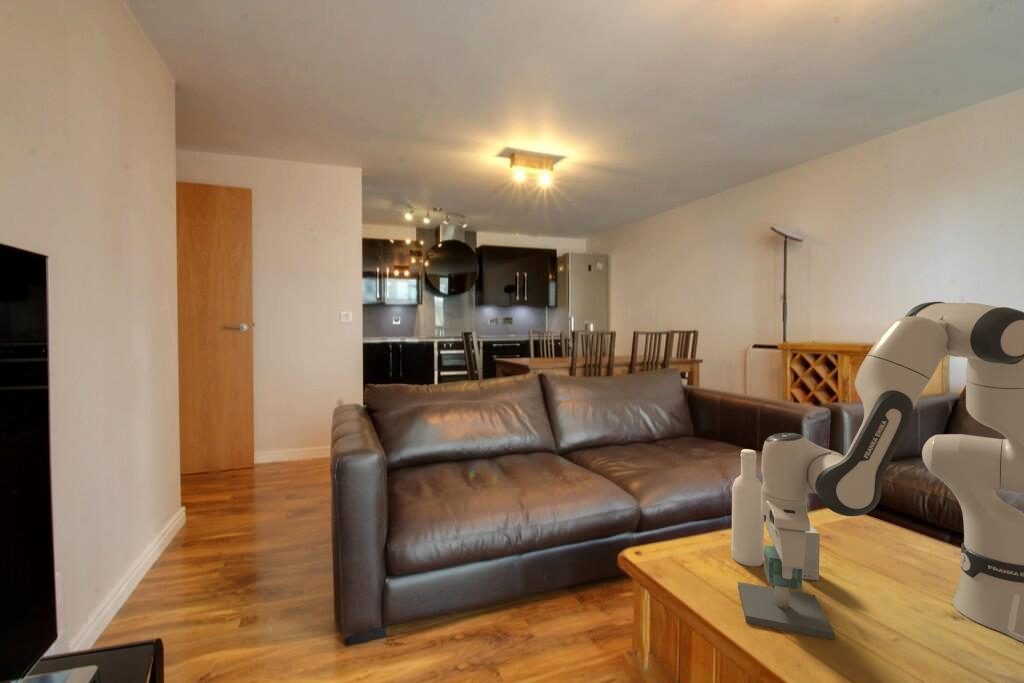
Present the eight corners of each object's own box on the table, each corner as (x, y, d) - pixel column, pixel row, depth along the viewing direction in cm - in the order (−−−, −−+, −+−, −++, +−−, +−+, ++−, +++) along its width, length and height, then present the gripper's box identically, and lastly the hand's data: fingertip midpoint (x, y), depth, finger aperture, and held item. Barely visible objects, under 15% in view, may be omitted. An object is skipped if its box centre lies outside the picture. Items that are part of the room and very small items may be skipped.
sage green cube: (794, 575, 103) (795, 549, 103) (801, 590, 98) (802, 562, 97) (763, 570, 105) (764, 544, 105) (769, 584, 100) (769, 557, 100)
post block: (814, 601, 106) (815, 562, 106) (833, 639, 93) (834, 596, 92) (738, 587, 111) (738, 551, 111) (745, 622, 98) (746, 581, 98)
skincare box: (819, 581, 114) (820, 533, 114) (800, 579, 115) (801, 532, 115) (809, 568, 120) (809, 523, 120) (791, 567, 121) (791, 522, 121)
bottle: (724, 556, 127) (726, 448, 126) (743, 550, 130) (745, 445, 129) (751, 569, 120) (752, 456, 119) (770, 562, 123) (772, 452, 122)
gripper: (759, 489, 112) (758, 545, 112) (776, 522, 93) (775, 589, 93) (788, 492, 110) (788, 549, 110) (812, 527, 91) (811, 596, 91)
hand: (782, 568), depth 101 cm, fingers closed on sage green cube, 6 cm apart
